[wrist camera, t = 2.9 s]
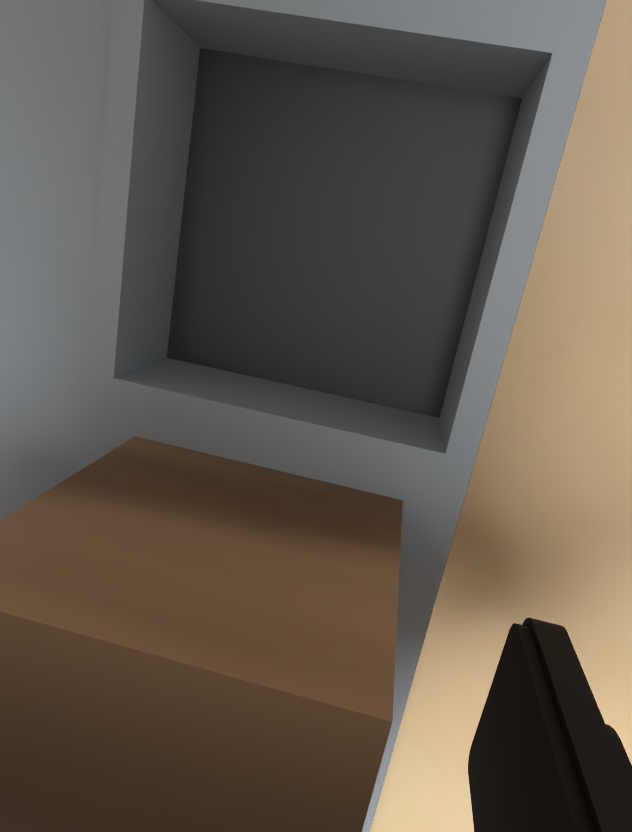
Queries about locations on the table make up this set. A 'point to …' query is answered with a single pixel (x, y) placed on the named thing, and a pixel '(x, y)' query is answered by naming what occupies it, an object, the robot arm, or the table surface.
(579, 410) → the table surface
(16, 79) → the box
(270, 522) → the block
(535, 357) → the table surface
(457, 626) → the table surface
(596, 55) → the table surface
